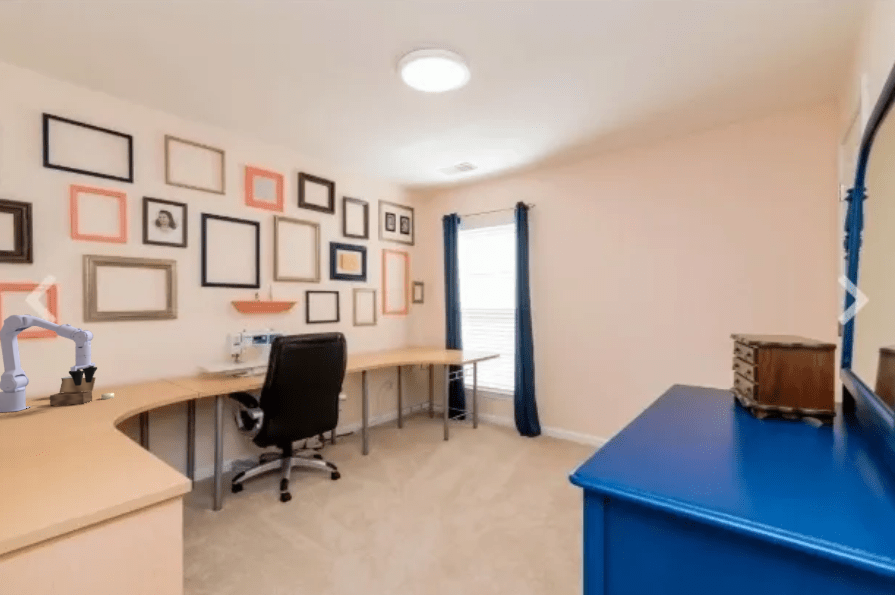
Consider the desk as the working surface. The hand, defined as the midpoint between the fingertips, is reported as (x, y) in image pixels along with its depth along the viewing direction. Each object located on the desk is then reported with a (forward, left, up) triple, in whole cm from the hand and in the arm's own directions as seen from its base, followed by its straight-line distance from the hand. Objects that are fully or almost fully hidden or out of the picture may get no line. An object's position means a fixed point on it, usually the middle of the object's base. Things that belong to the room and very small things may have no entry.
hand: (83, 383), depth 204 cm
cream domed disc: (+3, +14, -10) cm, 17 cm away
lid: (-8, +9, -2) cm, 12 cm away
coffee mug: (-20, +25, -10) cm, 33 cm away
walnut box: (-8, +5, -10) cm, 14 cm away
